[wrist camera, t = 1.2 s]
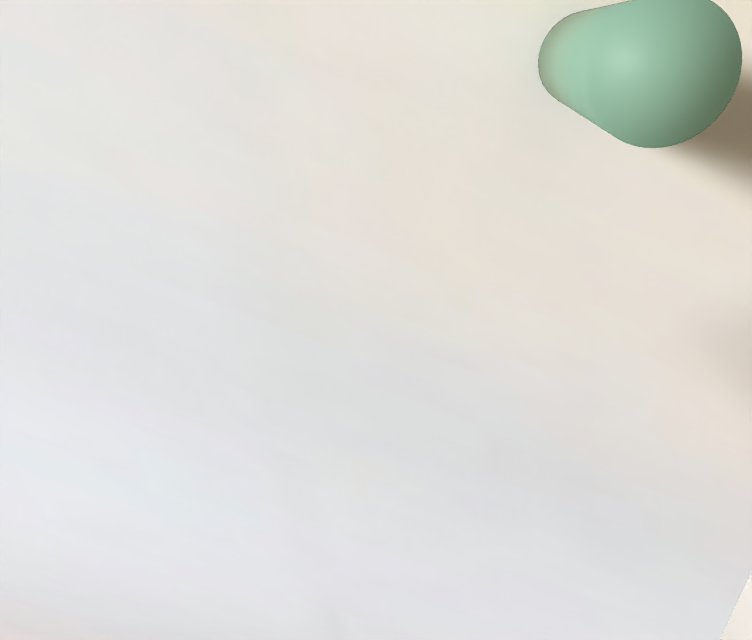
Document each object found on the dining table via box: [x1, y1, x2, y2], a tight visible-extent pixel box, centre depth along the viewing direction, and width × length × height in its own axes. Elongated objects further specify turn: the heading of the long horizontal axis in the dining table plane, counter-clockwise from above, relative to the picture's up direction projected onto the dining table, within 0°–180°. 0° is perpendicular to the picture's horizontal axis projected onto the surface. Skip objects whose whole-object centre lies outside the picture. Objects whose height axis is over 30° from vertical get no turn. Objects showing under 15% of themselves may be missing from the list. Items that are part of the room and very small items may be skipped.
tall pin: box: [538, 0, 742, 148], centre depth 26 cm, size 4×4×14 cm
